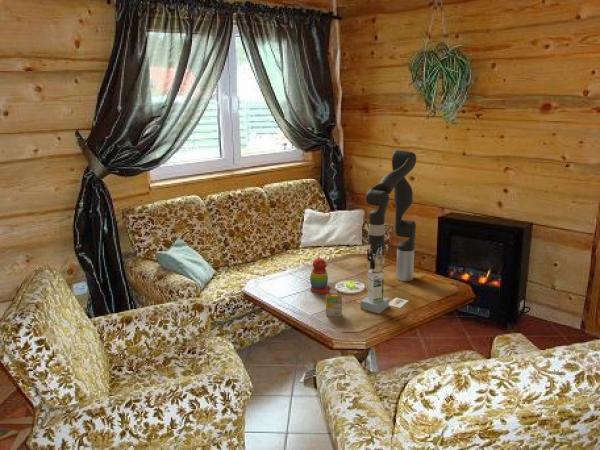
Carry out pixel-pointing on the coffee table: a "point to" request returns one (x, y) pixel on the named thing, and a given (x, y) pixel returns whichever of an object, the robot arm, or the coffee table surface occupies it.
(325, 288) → the stacking bear
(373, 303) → the base brick
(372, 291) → the syrup box
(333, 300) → the crayon box
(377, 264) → the birch cube
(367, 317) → the coffee table surface
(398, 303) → the page
